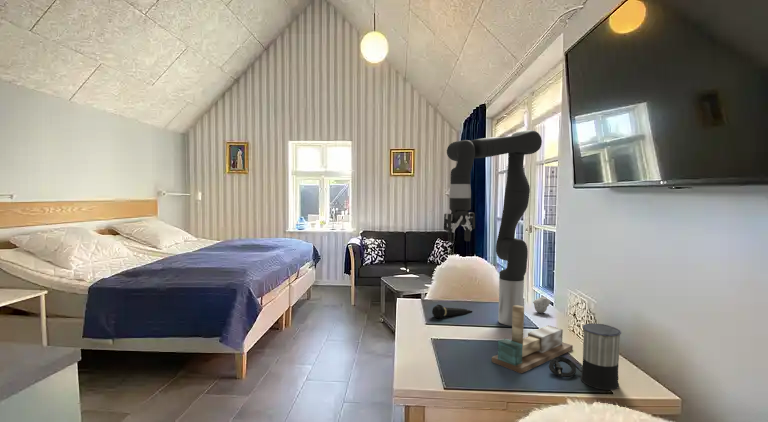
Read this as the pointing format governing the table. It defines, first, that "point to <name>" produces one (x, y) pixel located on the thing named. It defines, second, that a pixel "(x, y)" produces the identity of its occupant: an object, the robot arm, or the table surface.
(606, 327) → the milk frother
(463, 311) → the microphone
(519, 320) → the cream l-shaped piece
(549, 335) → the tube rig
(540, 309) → the frog figurine
